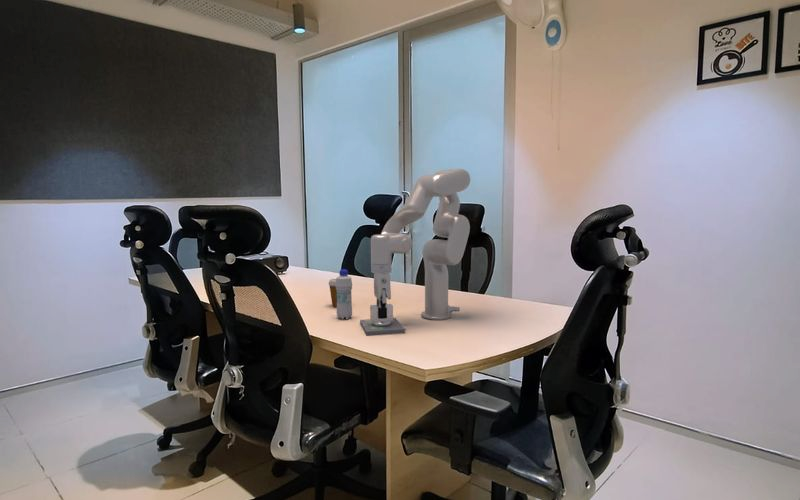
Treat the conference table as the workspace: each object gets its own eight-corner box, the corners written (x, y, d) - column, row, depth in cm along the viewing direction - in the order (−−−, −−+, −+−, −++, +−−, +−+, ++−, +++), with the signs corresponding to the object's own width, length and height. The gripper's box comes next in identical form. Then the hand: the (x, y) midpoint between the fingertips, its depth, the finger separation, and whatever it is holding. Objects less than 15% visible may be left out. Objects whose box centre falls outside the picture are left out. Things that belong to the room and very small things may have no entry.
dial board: (395, 321, 189) (395, 317, 189) (405, 333, 172) (405, 328, 172) (360, 323, 186) (360, 319, 186) (366, 335, 169) (366, 331, 169)
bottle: (349, 320, 191) (349, 270, 188) (333, 319, 192) (332, 270, 190) (354, 316, 197) (354, 268, 195) (339, 315, 198) (338, 267, 196)
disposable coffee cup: (348, 308, 211) (348, 281, 210) (327, 308, 211) (326, 282, 210) (351, 304, 221) (350, 278, 219) (330, 304, 221) (330, 278, 219)
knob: (394, 325, 176) (394, 306, 176) (365, 327, 174) (365, 308, 173) (390, 320, 183) (390, 302, 182) (363, 322, 181) (362, 304, 180)
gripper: (395, 271, 170) (396, 322, 172) (387, 264, 185) (387, 311, 187) (374, 271, 168) (375, 323, 170) (367, 265, 184) (368, 312, 186)
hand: (381, 316), depth 179 cm, fingers closed on knob, 3 cm apart
